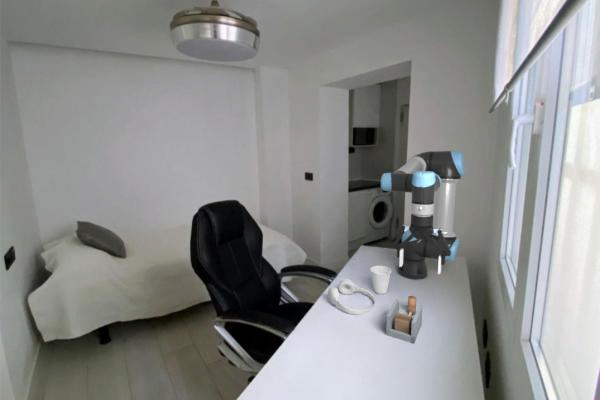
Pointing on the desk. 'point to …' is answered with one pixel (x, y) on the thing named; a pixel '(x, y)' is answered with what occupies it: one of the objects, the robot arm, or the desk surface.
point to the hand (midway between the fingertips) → (419, 269)
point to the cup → (380, 278)
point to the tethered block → (406, 317)
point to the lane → (414, 328)
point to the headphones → (347, 289)
